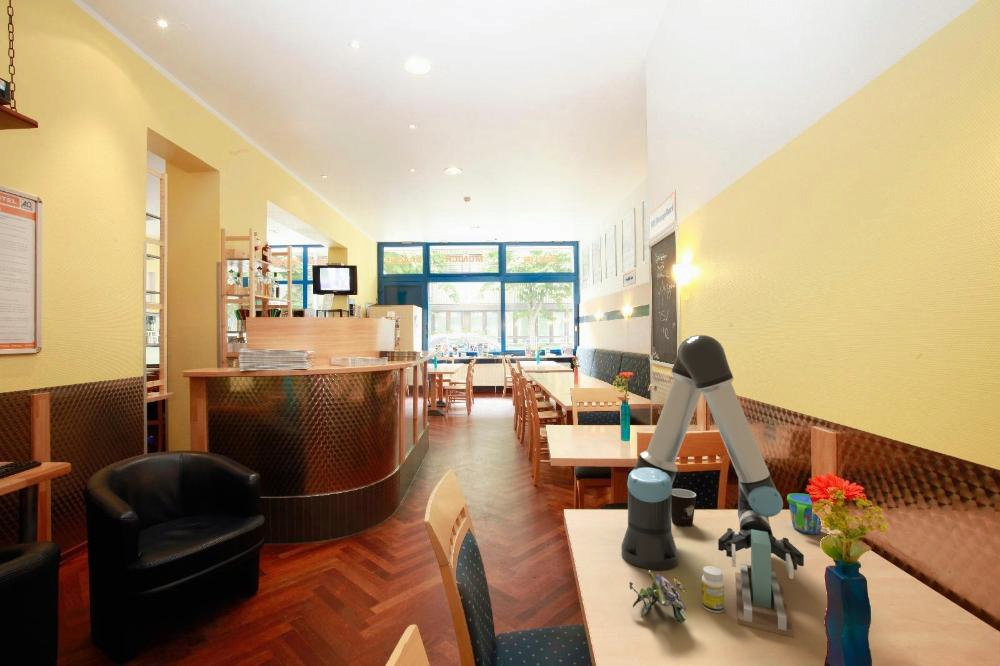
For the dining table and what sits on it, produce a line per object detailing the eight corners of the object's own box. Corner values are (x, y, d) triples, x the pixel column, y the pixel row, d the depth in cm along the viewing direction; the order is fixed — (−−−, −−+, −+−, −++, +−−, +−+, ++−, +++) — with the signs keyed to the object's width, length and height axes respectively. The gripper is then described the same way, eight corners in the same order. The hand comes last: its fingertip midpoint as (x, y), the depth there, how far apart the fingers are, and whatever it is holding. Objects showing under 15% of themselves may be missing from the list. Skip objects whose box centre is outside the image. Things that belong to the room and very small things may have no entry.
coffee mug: (691, 518, 155) (691, 489, 155) (700, 529, 146) (700, 498, 146) (656, 517, 156) (656, 488, 156) (662, 527, 147) (662, 496, 148)
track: (735, 576, 117) (735, 562, 117) (780, 585, 113) (780, 571, 113) (738, 623, 97) (738, 607, 97) (793, 637, 93) (793, 620, 93)
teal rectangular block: (751, 587, 110) (751, 529, 110) (767, 591, 108) (767, 532, 109) (753, 604, 103) (753, 542, 103) (771, 608, 101) (771, 545, 101)
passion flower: (677, 644, 98) (701, 619, 92) (629, 636, 98) (649, 610, 91) (665, 591, 108) (686, 565, 101) (621, 584, 107) (639, 556, 101)
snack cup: (816, 542, 137) (816, 508, 137) (778, 530, 146) (778, 498, 146) (834, 529, 147) (834, 498, 147) (797, 519, 155) (797, 489, 155)
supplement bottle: (703, 599, 107) (703, 563, 107) (726, 605, 104) (726, 568, 104) (699, 608, 103) (699, 571, 103) (722, 616, 100) (722, 577, 100)
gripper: (806, 553, 117) (824, 596, 97) (708, 535, 127) (705, 571, 107) (806, 523, 117) (824, 561, 97) (708, 508, 127) (705, 539, 107)
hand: (762, 566), depth 102 cm, fingers open, 10 cm apart
